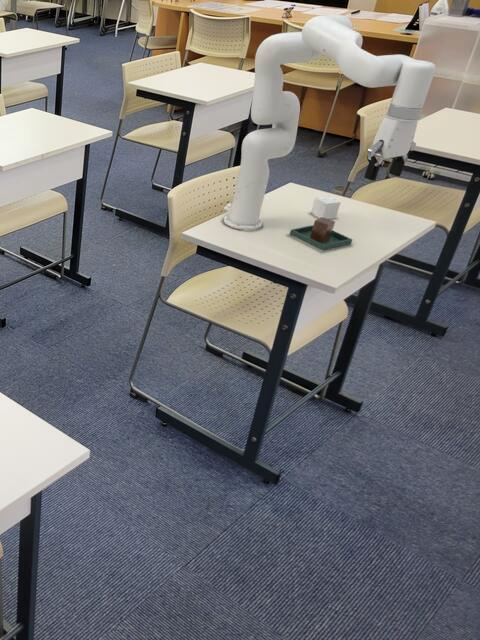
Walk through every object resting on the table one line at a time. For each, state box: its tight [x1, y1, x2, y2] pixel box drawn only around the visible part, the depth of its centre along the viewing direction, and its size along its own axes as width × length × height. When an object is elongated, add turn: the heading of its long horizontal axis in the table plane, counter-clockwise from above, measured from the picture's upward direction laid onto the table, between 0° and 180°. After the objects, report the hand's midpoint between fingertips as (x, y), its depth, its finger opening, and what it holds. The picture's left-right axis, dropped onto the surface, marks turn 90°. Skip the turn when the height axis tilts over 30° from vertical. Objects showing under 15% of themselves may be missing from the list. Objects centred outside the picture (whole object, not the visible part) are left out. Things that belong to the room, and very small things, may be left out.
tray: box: [289, 224, 353, 252], centre depth 227 cm, size 14×13×2 cm
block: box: [310, 217, 336, 243], centre depth 226 cm, size 5×5×6 cm
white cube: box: [310, 195, 341, 220], centre depth 245 cm, size 6×6×6 cm
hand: (382, 177), depth 189 cm, fingers open, 9 cm apart
